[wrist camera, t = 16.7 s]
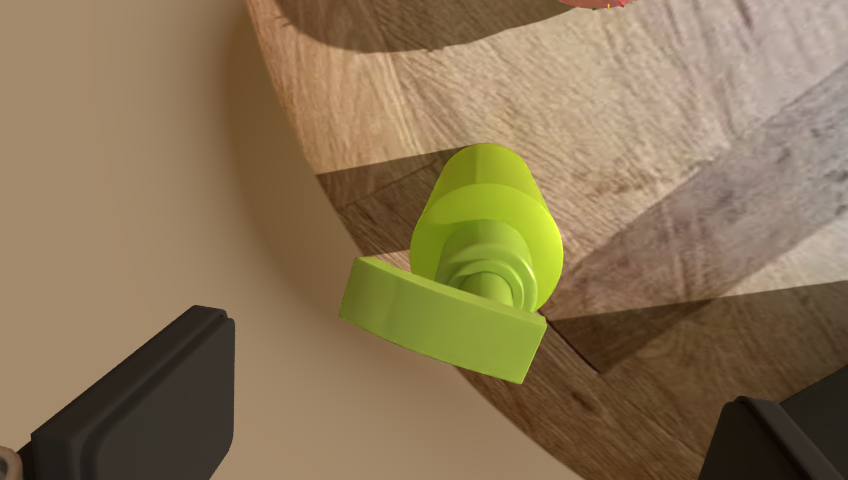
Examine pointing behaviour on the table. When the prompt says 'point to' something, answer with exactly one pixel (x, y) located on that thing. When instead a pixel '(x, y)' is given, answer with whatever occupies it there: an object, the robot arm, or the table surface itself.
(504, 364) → the soap dispenser
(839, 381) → the carton
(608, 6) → the doughnut
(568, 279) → the table surface
